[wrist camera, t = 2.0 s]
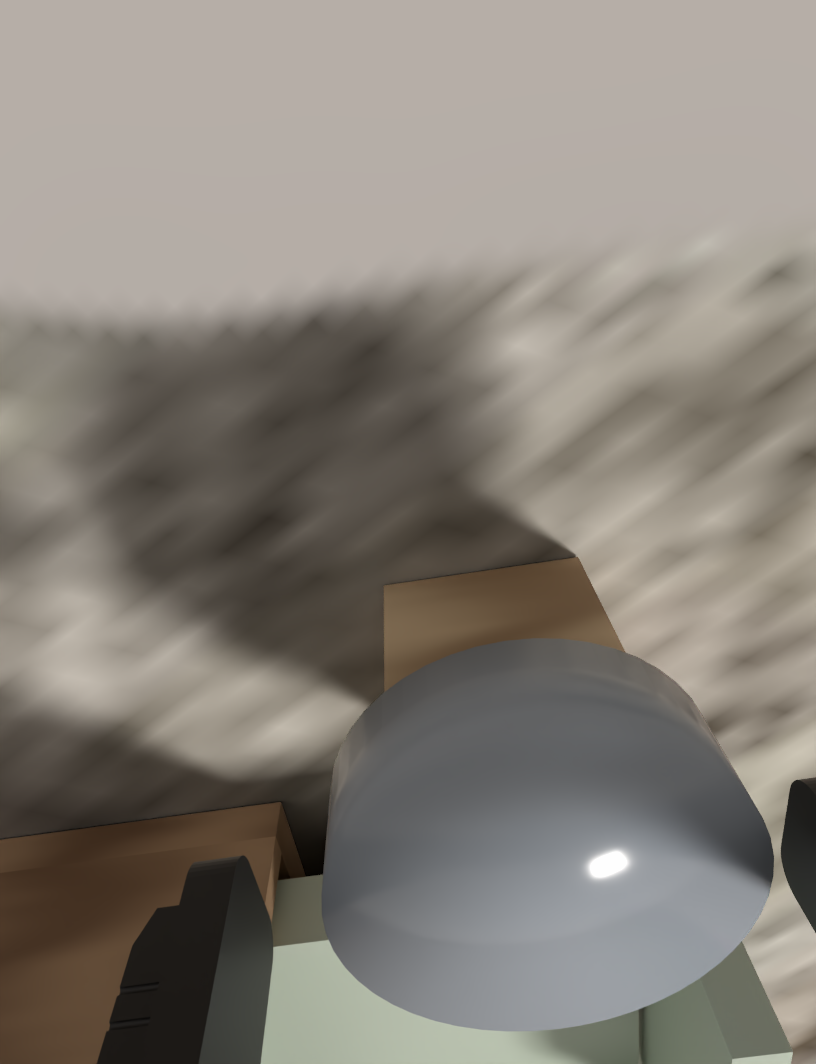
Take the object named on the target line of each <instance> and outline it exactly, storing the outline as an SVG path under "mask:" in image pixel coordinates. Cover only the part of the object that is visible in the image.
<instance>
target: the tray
mask: <svg viewBox="0 0 816 1064" xmlns="http://www.w3.org/2000/svg"><path fill="white" fill-rule="evenodd" d="M322 883H323V875H316V876H308V877H300V878H293V879H285V880H278V882H277V889H276V896H275V903H274V910H273V917H272V923H271V925H272V933H273V964H272V973H271V981H270V989H269V998H268V1006H267V1014H266V1023H265V1031H264V1039H263V1048H262V1056H261V1064H638V1063H639V1064H791V1060H792V1055H793V1051H792V1049H791V1047H790V1044H789V1042H788V1040H787V1038H786V1036H785V1034H784V1031H783V1029H782V1027H781V1025H780V1023H779V1021H778V1018H777V1016H776V1014H775V1012H774V1010H773V1008H772V1006H771V1003H770V1001H769V999H768V997H767V995H766V993H765V990H764V988H763V986H762V984H761V982H760V980H759V977H758V975H757V973H756V971H755V969H754V967H753V964H752V962H751V960H750V958H749V956H748V954H747V952H746V949H745V947H744V945H743V943H742V941H741V942H740V944H739V945H738V946H737V947H736V948H735V949H734V950H733V951H732V952H731V953H730V954H729V955H728V956H727V957H726V958H725V959H724V960H723V961H722V962H720V963H719V964H718V965H717V966H716V967H714V968H713V969H712V970H710V971H709V972H708V973H706V974H705V975H704V976H702V977H701V978H700V979H698V980H696V981H695V982H693V983H691V984H690V985H688V986H687V987H685V988H683V989H682V990H680V991H678V992H676V993H674V994H672V995H670V996H668V997H666V998H664V999H662V1000H660V1001H658V1002H656V1003H653V1004H651V1005H648V1006H646V1007H643V1008H641V1009H638V1010H636V1011H633V1012H630V1013H627V1014H624V1015H621V1016H617V1017H614V1018H611V1019H608V1020H603V1021H599V1022H595V1023H590V1024H586V1025H581V1026H575V1027H568V1028H562V1029H553V1030H541V1031H509V1032H507V1031H492V1030H480V1029H473V1028H466V1027H459V1026H454V1025H450V1024H446V1023H441V1022H437V1021H433V1020H430V1019H427V1018H424V1017H421V1016H418V1015H415V1014H413V1013H410V1012H408V1011H406V1010H404V1009H401V1008H399V1007H397V1006H395V1005H393V1004H391V1003H389V1002H387V1001H386V1000H384V999H382V998H381V997H379V996H377V995H376V994H374V993H373V992H371V991H370V990H369V989H368V988H366V987H365V986H364V985H363V984H361V983H360V982H359V981H358V980H357V979H356V978H355V977H354V976H353V975H352V974H351V973H350V972H349V971H348V970H347V969H346V968H345V967H344V965H343V964H342V963H341V961H340V960H339V958H338V957H337V955H336V954H335V952H334V951H333V949H332V946H331V944H330V942H329V940H328V937H327V935H326V932H325V927H324V923H323V918H322V897H321V896H322Z"/></svg>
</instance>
